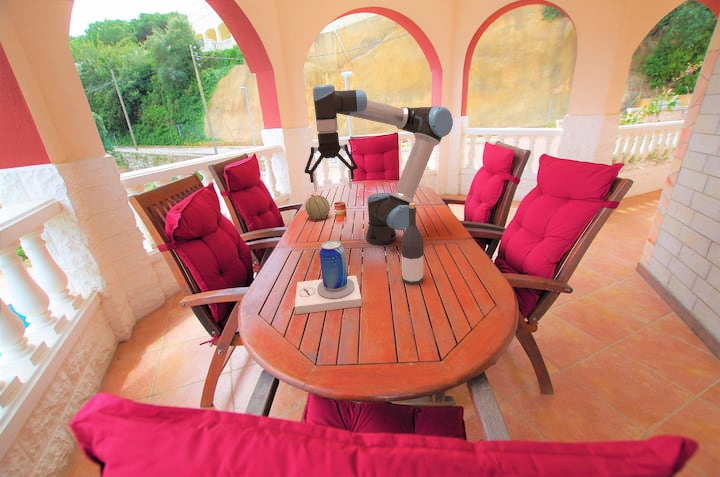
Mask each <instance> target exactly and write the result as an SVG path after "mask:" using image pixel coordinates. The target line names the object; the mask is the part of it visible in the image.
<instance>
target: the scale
mask: <svg viewBox="0 0 720 477" xmlns="http://www.w3.org/2000/svg"><path fill="white" fill-rule="evenodd" d="M296 283H297V284H296V291H295V292H296V293H295V300H294V310H295V311H294V312H295V315H301V314H302V315H303V314H310V313H317V312H327V311H334V310H335V311H336V310H343V309H350V308H357V307H362V305H363V302H362V297H361V296H362V295H361V291H360V287H359V283H358V278H357V275H347V284H346V285H345V287H344V288H343V289H342V290H339V291H329V290H327V289H326V287H324V285H323V278H321V279H313V280H305V281H298V282H296Z"/></svg>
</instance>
